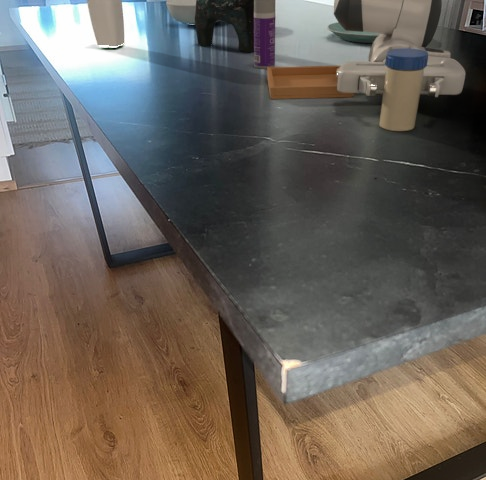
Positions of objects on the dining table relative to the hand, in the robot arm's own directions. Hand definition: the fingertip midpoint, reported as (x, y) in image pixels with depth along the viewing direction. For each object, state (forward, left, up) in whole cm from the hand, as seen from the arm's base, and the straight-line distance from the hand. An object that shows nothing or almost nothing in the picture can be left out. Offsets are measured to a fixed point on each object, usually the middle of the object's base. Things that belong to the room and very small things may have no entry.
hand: (402, 91), depth 82 cm
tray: (+12, -24, -6) cm, 28 cm away
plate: (-9, -71, -6) cm, 72 cm away
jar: (0, 0, -6) cm, 6 cm away
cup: (+60, -67, -6) cm, 90 cm away
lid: (0, 0, +5) cm, 5 cm away
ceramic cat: (+29, -62, -6) cm, 69 cm away
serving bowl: (+38, -100, -6) cm, 108 cm away
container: (+20, -42, -6) cm, 47 cm away
